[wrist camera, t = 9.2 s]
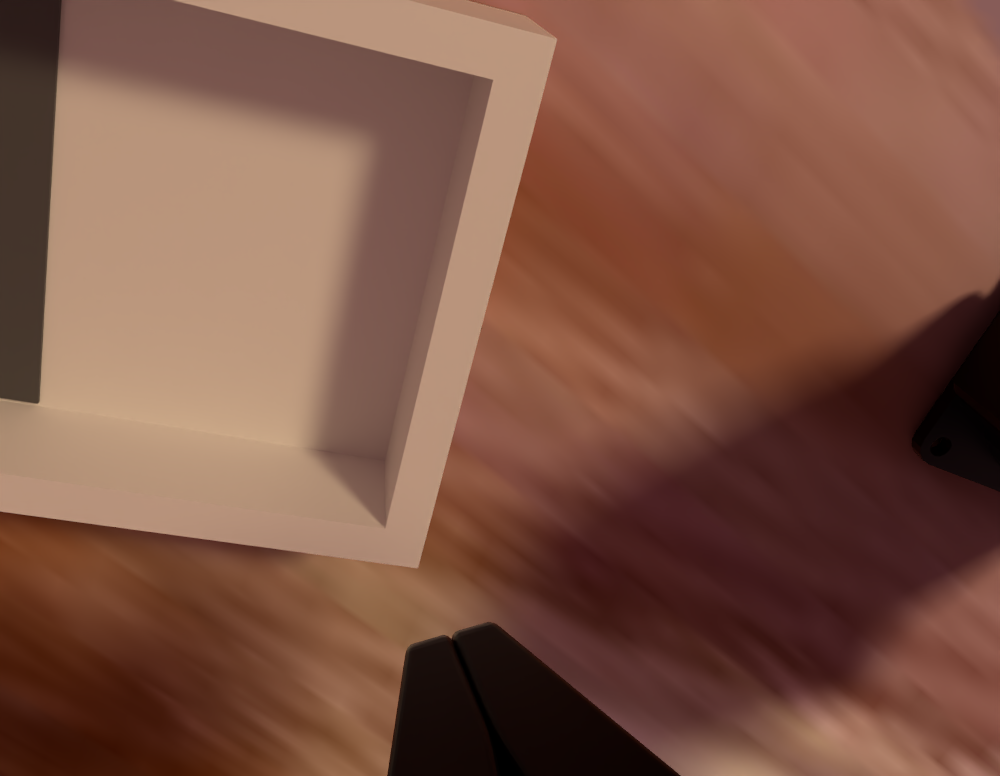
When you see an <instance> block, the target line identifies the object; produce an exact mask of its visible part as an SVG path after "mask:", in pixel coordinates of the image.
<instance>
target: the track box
mask: <svg viewBox="0 0 1000 776" xmlns="http://www.w3.org/2000/svg"><path fill="white" fill-rule="evenodd" d="M556 42H557V39H556V38H555V37H554V36H552V35H551V34H550V33H548V32H547V31H546V30H544V29H543V28H542V27H540V26H539V25H538V24H536V23H535V22H533V21H532V20H531V19H529V18H528V17H527V16H524V15H521V14H517V13H513V12H509V11H506V10H502V9H498V8H494V7H490V6H487V5H483V4H479V3H475V2H472V1H468V0H0V512H8V513H15V514H22V515H30V516H37V517H44V518H52V519H59V520H67V521H74V522H81V523H89V524H96V525H103V526H111V527H118V528H125V529H133V530H140V531H147V532H155V533H162V534H169V535H177V536H184V537H192V538H199V539H206V540H214V541H221V542H228V543H236V544H243V545H250V546H258V547H265V548H272V549H280V550H287V551H294V552H302V553H309V554H317V555H324V556H331V557H339V558H346V559H353V560H361V561H368V562H375V563H383V564H390V565H397V566H405V567H412V568H418V566H419V562H420V558H421V555H422V551H423V547H424V543H425V539H426V536H427V532H428V528H429V524H430V520H431V517H432V513H433V509H434V505H435V501H436V498H437V494H438V490H439V486H440V482H441V479H442V475H443V471H444V467H445V463H446V460H447V456H448V452H449V448H450V444H451V441H452V437H453V433H454V429H455V425H456V422H457V418H458V414H459V410H460V406H461V403H462V399H463V395H464V391H465V387H466V384H467V380H468V376H469V372H470V368H471V365H472V361H473V357H474V353H475V349H476V346H477V342H478V338H479V334H480V330H481V327H482V323H483V319H484V315H485V311H486V308H487V304H488V300H489V296H490V292H491V289H492V285H493V281H494V277H495V273H496V270H497V266H498V262H499V258H500V254H501V251H502V247H503V243H504V239H505V235H506V232H507V228H508V224H509V220H510V216H511V213H512V209H513V205H514V201H515V197H516V194H517V190H518V186H519V182H520V179H521V175H522V171H523V167H524V163H525V160H526V156H527V152H528V148H529V144H530V141H531V137H532V133H533V129H534V125H535V122H536V118H537V114H538V110H539V106H540V103H541V99H542V95H543V91H544V87H545V84H546V80H547V76H548V72H549V68H550V65H551V61H552V57H553V53H554V49H555V46H556Z"/></svg>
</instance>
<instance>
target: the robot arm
mask: <svg viewBox="0 0 1000 776" xmlns="http://www.w3.org/2000/svg"><path fill="white" fill-rule="evenodd" d="M939 438H942V440H941V442H940V443H939V444H938V445H937V446H934V447H932V448H931V445H932V443H933V442H934V441H935V440H936V439H939ZM912 447H913V449H914V451H915V453H916V454H917V455H918V456H919V457H920V458H921V459H922V460H923V461H925V462H926V463H928V464H930V465H932V466H935V467H937V468H940V469H943V470H945V471H948V472H950V473H953V474H956V475H958V476H961V477H963V478H966V479H969V480H971V481H974V482H976V483H979V484H982V485H984V486H987V487H989V488H992V489H995V490H997V491H1000V311H999V313H998V314H997V316H996V317H995V318H994V320H993V321H992V323H991V324H990V326H989V327H988V329H987V330H986V331H985V333H984V334H983V336H982V337H981V339H980V340H979V341H978V343H977V344H976V346H975V347H974V349H973V350H972V351H971V353H970V354H969V356H968V357H967V359H966V360H965V362H964V363H963V364H962V366H961V367H960V369H959V370H958V372H957V373H956V374H955V376H954V377H953V379H952V380H951V382H950V383H949V384H948V386H947V387H946V389H945V390H944V392H943V393H942V395H941V396H940V397H939V399H938V400H937V402H936V403H935V405H934V406H933V407H932V409H931V410H930V412H929V413H928V415H927V416H926V417H925V419H924V420H923V422H922V423H921V425H920V426H919V428H918V429H917V430H916V432H915V434H914V436H913V438H912ZM387 776H680V775H679V774H678V773H677V772H675V771H674V770H673V769H672V768H671V767H669V766H668V765H667V764H666V763H664V762H663V761H662V760H661V759H660V758H658V757H657V756H656V755H655V754H654V753H652V752H651V751H650V750H649V749H647V748H646V747H645V746H644V745H643V744H641V743H640V742H639V741H638V740H637V739H635V738H634V737H633V736H632V735H631V734H629V733H628V732H627V731H626V730H624V729H623V728H622V727H621V726H620V725H618V724H617V723H616V722H615V721H614V720H612V719H611V718H610V717H609V716H607V715H606V714H605V713H604V712H603V711H601V710H600V709H599V708H598V707H597V706H595V705H594V704H593V703H592V702H590V701H589V700H588V699H587V698H586V697H584V696H583V695H582V694H581V693H580V692H578V691H577V690H576V689H575V688H573V687H572V686H571V685H570V684H569V683H567V682H566V681H565V680H564V679H563V678H561V677H560V676H559V675H558V674H557V673H555V672H554V671H553V670H552V669H550V668H549V667H548V666H547V665H546V664H544V663H543V662H542V661H541V660H540V659H538V658H537V657H536V656H535V655H533V654H532V653H531V652H530V651H529V650H527V649H526V648H525V647H524V646H523V645H521V644H520V643H519V642H518V641H516V640H515V639H514V638H513V637H512V636H510V635H509V634H508V633H507V632H506V631H504V630H503V629H502V628H501V627H499V626H498V625H497V624H495V623H491V622H487V623H483V624H480V625H476V626H473V627H469V628H466V629H462V630H459V631H457V632H455V633H454V635H453V636H452V640H451V639H450V638H449V637H448V636H446V635H442V636H438V637H435V638H431V639H428V640H425V641H421V642H418V643H414V644H412V645H410V646H409V647H408V649H407V651H406V654H405V661H404V667H403V674H402V681H401V688H400V694H399V701H398V708H397V714H396V721H395V728H394V735H393V741H392V748H391V755H390V762H389V768H388V775H387Z"/></svg>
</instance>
